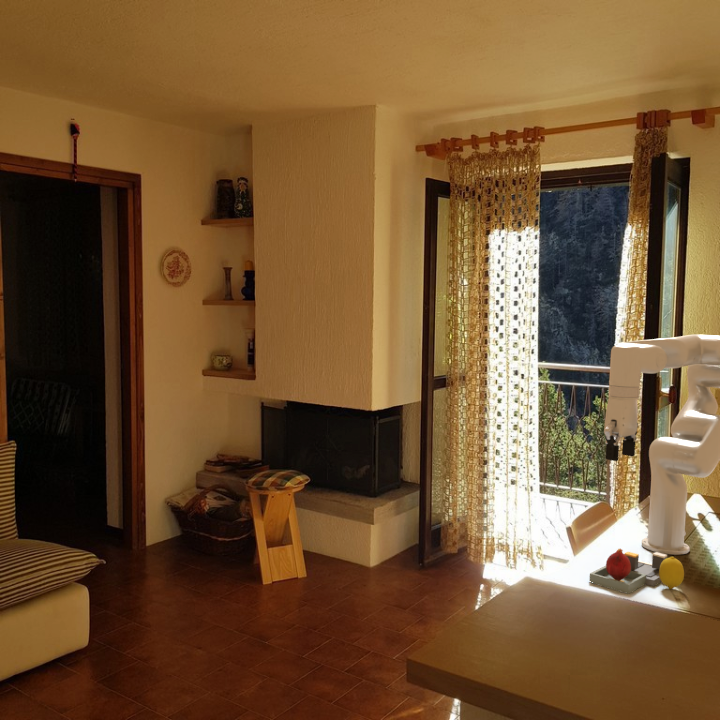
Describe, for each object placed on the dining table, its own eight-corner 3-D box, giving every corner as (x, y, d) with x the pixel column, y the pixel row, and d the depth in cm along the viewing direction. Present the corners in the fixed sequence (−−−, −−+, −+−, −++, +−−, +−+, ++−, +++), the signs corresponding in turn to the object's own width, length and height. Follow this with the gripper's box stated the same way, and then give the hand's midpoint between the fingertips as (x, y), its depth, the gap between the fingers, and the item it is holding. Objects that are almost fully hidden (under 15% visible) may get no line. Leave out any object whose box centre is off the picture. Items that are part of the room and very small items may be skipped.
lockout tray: (607, 572, 190) (608, 564, 190) (645, 583, 183) (646, 574, 183) (589, 582, 183) (589, 573, 183) (628, 593, 176) (629, 584, 176)
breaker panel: (636, 566, 195) (636, 559, 195) (671, 575, 189) (671, 569, 189) (617, 576, 187) (618, 569, 187) (653, 586, 181) (653, 579, 181)
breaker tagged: (627, 565, 190) (627, 551, 189) (637, 568, 188) (638, 554, 187) (623, 567, 188) (624, 553, 188) (634, 570, 186) (635, 556, 186)
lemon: (685, 594, 177) (687, 561, 176) (660, 592, 178) (662, 559, 177) (680, 586, 182) (682, 554, 182) (656, 583, 183) (658, 551, 183)
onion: (625, 587, 179) (627, 554, 178) (601, 581, 182) (603, 549, 182) (633, 580, 184) (634, 548, 183) (609, 574, 187) (611, 543, 186)
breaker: (655, 565, 190) (655, 552, 190) (666, 568, 188) (667, 554, 188) (651, 567, 189) (652, 553, 188) (663, 570, 187) (663, 556, 186)
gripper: (624, 389, 203) (620, 451, 204) (594, 393, 190) (591, 459, 191) (651, 392, 197) (648, 456, 199) (623, 396, 185) (619, 464, 186)
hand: (620, 457), depth 195 cm, fingers open, 9 cm apart
